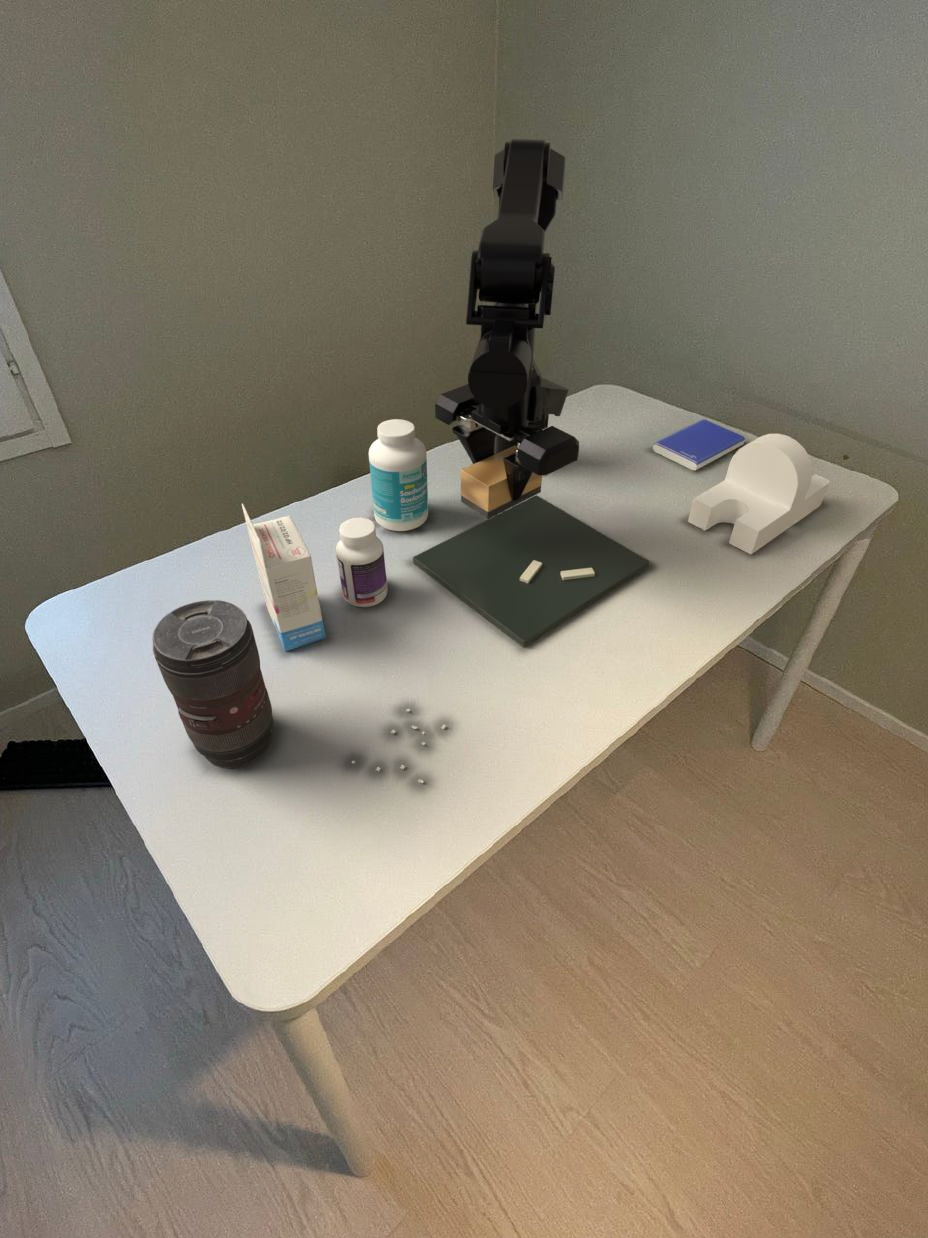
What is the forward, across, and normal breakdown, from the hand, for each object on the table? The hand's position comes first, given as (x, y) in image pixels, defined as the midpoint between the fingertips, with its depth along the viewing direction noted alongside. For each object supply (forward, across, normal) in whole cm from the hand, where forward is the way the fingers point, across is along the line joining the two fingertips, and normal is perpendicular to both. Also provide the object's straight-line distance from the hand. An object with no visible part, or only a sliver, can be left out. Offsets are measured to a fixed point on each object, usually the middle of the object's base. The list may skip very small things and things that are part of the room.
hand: (501, 490), depth 87 cm
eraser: (+1, 0, 0) cm, 1 cm away
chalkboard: (+8, -6, 0) cm, 10 cm away
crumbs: (+8, -18, +29) cm, 35 cm away
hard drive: (+8, -2, -41) cm, 42 cm away
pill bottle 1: (+8, +3, +19) cm, 21 cm away
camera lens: (+8, -7, +41) cm, 43 cm away
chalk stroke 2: (+7, -12, -2) cm, 14 cm away
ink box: (+8, +4, +28) cm, 30 cm away
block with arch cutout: (+8, -18, -32) cm, 38 cm away
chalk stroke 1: (+7, -8, +2) cm, 11 cm away
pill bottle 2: (+8, +13, +6) cm, 17 cm away
